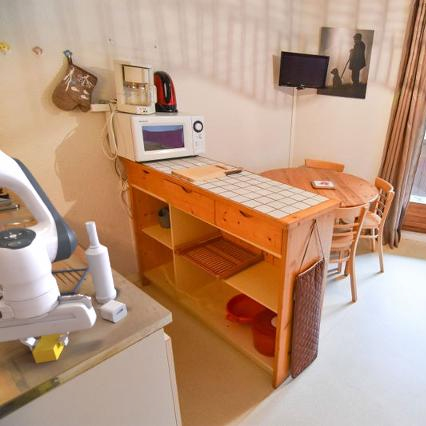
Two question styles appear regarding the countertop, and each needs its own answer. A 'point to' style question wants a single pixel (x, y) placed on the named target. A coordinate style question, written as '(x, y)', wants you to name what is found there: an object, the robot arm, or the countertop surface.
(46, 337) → the sponge
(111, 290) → the bottle
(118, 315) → the usb wall charger
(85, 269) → the dark grey flat frame
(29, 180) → the robot arm
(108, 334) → the countertop surface
